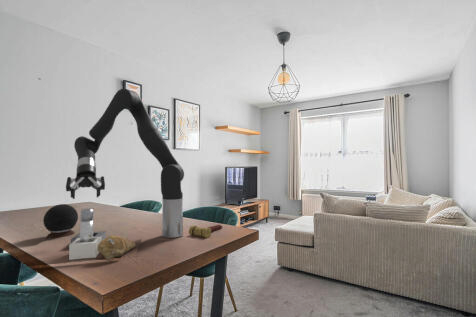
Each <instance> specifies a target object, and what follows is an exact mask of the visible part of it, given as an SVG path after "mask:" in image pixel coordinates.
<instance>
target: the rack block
mask: <svg viewBox="0 0 476 317" xmlns="http://www.w3.org/2000/svg"><path fill="white" fill-rule="evenodd" d="M101 241H102V237H93V242H86V243H80V238H77V239H76V240H75V241H74V242H72V243H71V242H70V244H69V245H68V246H69V250H68V251H69V253H68V254H69V255H68V256H69V257H68V260H72V261H69V263H79V262H80V263H81V262H91V261H96V260H97V259H96V258H97V256H99V254H101V253H100V252H99V251H98V245H99V243H100V242H101ZM93 258H94V259H93ZM81 259H83V260H81ZM73 260H74V261H73Z"/></svg>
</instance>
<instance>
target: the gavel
mask: <svg viewBox="0 0 476 317" xmlns="http://www.w3.org/2000/svg"><path fill="white" fill-rule="evenodd" d="M223 227H224V225H222V224H216V225H211V226H208V227H199V226H197V225H191V226H190V227H189V229H188V234H189V235H190V236H196V237H201V238H206V239H208V238H210V237H211V236H212V233H213V232H215V231H219V230H221V229H223Z"/></svg>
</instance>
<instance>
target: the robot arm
mask: <svg viewBox="0 0 476 317" xmlns="http://www.w3.org/2000/svg"><path fill="white" fill-rule="evenodd" d="M124 110H127V111H129V112H130V114H131V116H132V117H133V118H134V121H135V122H136V123H135V124H136V129H137V135H138V136H139V139H140V140H141V142H142V143H143V145H144V146H145V148H146V150H147V151H148V152H150V154H151V155H152V156H153V157H154V158H155V159H156V160H157V161H158V163H159V164H160V165H161V168H162V169H161V172H160V193H161V196H162V199H161V200H162V208H161V211H162V212H161V213H162V214H161V215H162V216H161V218H162V219H161V222H162V224H161V225H162V231H161V233H162V234H161V235H162V236H161V237H162V238H168V239H169V238H170V239H173V238H179V237H184V215H183V213H184V212H183V209H184V208H183V206H184V205H183V204H184V203H183V201H184V198H183V194H184V193H183V192H182V184H181V183H182V181H183V180H184V177H185V172H184V171H185V170H184V169H183V167H182V166H181V165H180V163H179V162H178V161H177V160H176V158H175V157H174V155H173V153H172V152H171V150H170V148H169V147H168V144H167V143H166V141H165V139H164V137H163V136H162V134H161V132H160V130H159V129H158V127H157V126H156V124H155V123H154V120H153V119H152V118H151V116H150V114H149V113H148V111H147V108H146V107H145V104H144V102H143V100H142V98H141V96H140V95H139V94H138V93H137V92H135V91H133V90H130V89H128V88H121V89H118V91H116V93H115V94H114V95H113V97H112V99H111V101H110V102H109V104H108V106H107V107H106V109H105V111H104V112H103V114H102V116H101V117H100V118H99V119H98V120H97V121H96V123H95V124H94V125H93V126H92V128H91V129H90V130H89V131H88V134H89V136H90V137H91V138H92V139H93V140H92V139H91V138H88V137H86V136H83V135H82V136H81V135H80V136H79V137H77V138H76V139H75V140H74V151H75V153H76V156H77V164H76V176H75V177H74V178H72V177H71V176H68V177H67V179H66V184H65V191H66V192H70V198H71V199H73V200H75V198H76V191H77V190H79V189H81V188H93V189H94V190H95V191H96V198H99V197H101V191H104V190H105V186H106V183H105V176H102V175H101V176H100V177H97V164H96V155H95V154H97V153H98V151H99V149H100V146H101V144H102V143H103V140H104V139H105V138H106V137H107V135H108V134H109V133H110V132H111V131H112V130H113V127H114V124H115V123H116V118H117V117H118V116H119V115H120V113H121V112H122V111H124ZM98 182H99V183H100V184H101V185H100V184H98ZM73 183H74V184H73ZM72 184H73V185H72ZM71 185H72V186H71Z"/></svg>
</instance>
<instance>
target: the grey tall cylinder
mask: <svg viewBox="0 0 476 317" xmlns="http://www.w3.org/2000/svg"><path fill="white" fill-rule="evenodd" d="M94 212H95V210H94V208H91V207H90V208H82V209H80V222H79V223H80V226H79V227H80V228H79V233H80V243H86V242H93V232H94V215H95V214H94Z"/></svg>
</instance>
